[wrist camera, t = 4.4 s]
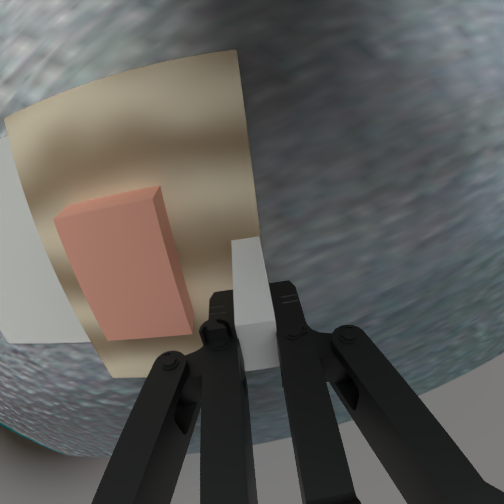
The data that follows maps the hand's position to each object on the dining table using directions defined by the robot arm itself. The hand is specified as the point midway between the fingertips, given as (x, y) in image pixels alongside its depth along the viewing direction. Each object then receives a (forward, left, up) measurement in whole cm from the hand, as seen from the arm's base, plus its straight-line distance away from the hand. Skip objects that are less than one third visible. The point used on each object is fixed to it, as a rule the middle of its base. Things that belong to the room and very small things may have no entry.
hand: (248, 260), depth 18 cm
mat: (0, -22, -5) cm, 23 cm away
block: (0, -7, -1) cm, 7 cm away
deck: (0, -6, -5) cm, 8 cm away
